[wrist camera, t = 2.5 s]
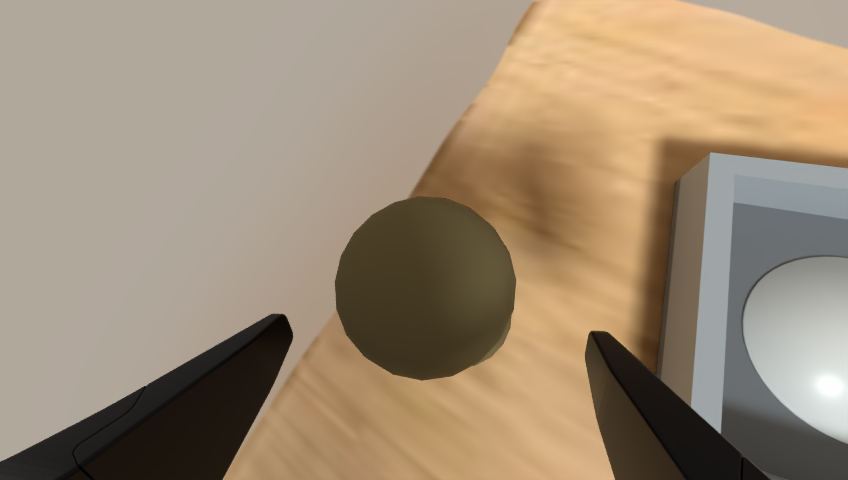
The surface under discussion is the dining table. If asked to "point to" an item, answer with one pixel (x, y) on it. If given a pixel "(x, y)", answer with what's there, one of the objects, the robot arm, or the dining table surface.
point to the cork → (426, 288)
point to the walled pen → (762, 310)
